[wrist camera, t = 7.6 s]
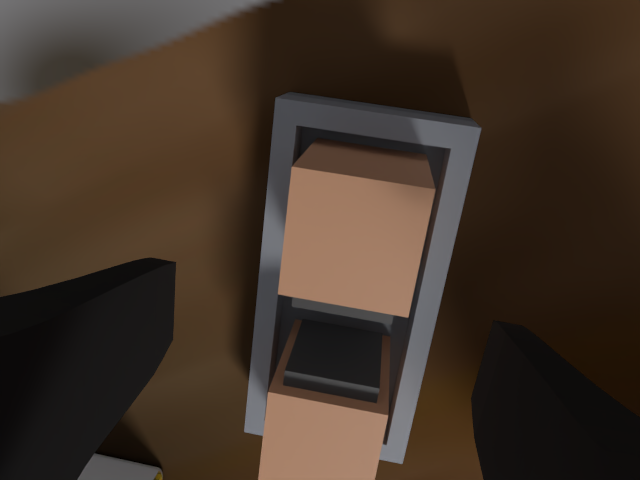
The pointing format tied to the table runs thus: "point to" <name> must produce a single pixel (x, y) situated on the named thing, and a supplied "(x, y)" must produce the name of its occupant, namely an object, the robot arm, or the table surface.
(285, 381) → the grey rimmed tray
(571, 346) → the table surface
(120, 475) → the medicine bottle
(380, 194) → the tan matte cube
